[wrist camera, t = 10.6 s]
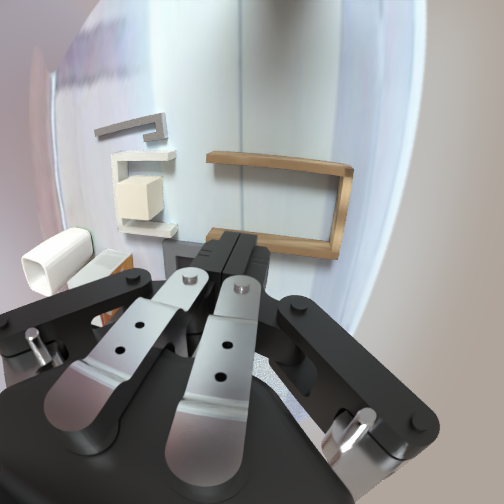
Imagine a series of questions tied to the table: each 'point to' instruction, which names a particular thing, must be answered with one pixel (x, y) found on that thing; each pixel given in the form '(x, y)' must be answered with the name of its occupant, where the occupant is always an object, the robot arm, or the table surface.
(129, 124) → the crook tool
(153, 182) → the cream cube
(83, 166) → the table surface
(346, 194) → the wooden u-shaped frame
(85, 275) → the small box
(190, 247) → the hole frame
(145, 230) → the cream bay
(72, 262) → the white rounded prism
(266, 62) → the table surface
